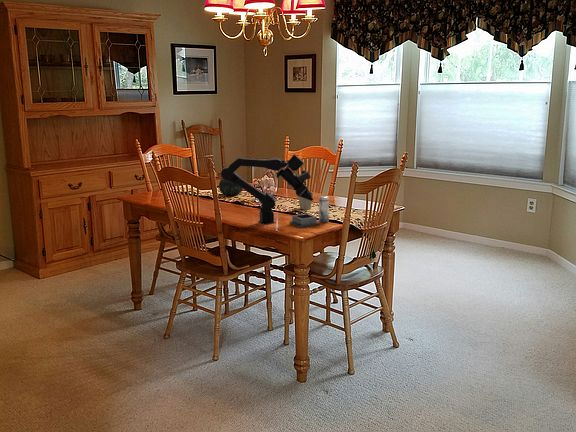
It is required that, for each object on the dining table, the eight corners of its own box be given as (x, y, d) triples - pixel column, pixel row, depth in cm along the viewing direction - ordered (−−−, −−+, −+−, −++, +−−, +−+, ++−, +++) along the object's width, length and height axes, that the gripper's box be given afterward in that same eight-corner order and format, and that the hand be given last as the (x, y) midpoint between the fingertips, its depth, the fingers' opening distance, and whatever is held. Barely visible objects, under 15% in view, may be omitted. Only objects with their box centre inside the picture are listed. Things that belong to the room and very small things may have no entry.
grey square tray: (300, 227, 289) (300, 220, 288) (289, 223, 299) (289, 215, 298) (319, 224, 294) (319, 217, 294) (308, 220, 304) (308, 212, 303)
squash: (236, 182, 383) (223, 167, 374) (250, 186, 372) (237, 171, 363) (223, 199, 379) (210, 184, 370) (237, 203, 368) (223, 188, 359)
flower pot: (299, 210, 326) (299, 195, 324) (295, 207, 335) (294, 192, 333) (315, 209, 329) (315, 194, 327) (310, 205, 338) (310, 191, 335)
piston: (322, 223, 298) (322, 198, 294) (316, 221, 302) (316, 196, 299) (330, 222, 300) (330, 197, 297) (325, 220, 304) (325, 195, 301)
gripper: (302, 169, 285) (324, 190, 288) (300, 163, 303) (321, 183, 306) (286, 185, 287) (308, 206, 289) (285, 178, 305) (307, 198, 307)
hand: (312, 198), depth 298 cm, fingers open, 9 cm apart
